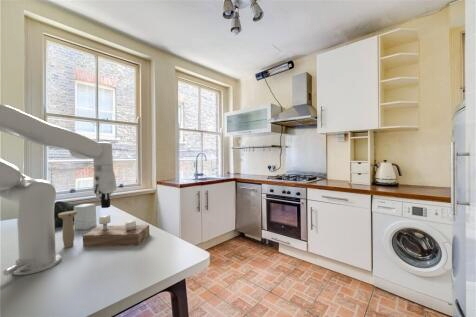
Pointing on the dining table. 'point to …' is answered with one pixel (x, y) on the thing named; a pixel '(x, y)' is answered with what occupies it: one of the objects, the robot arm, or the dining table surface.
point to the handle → (68, 227)
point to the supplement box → (85, 216)
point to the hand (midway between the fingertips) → (105, 207)
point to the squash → (61, 211)
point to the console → (115, 236)
